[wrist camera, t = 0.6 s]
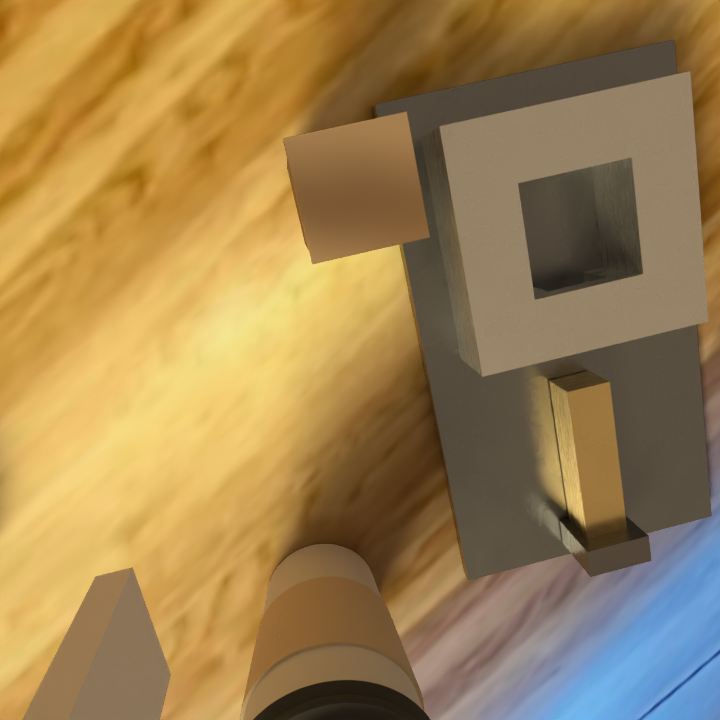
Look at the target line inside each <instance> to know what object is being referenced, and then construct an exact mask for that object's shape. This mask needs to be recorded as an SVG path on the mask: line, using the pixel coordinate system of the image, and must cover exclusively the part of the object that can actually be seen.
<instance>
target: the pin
mask: <svg viewBox="0 0 720 720" xmlns="http://www.w3.org/2000/svg"><path fill="white" fill-rule="evenodd" d="M549 384H550V391H551V398H552V405H553V412H554V419H555V426H556V433H557V439H558V446H559V453H560V460H561V467H562V474H563V481H564V488H565V495H566V502H567V509H568V516H569V518H568V519H564V520H560V527H561V534H562V541H563V544H564V545H565V547H566V548H567V549H568V550H569V551H570V553H571V554H572V555H573V556H574V557H575V559H576V560H577V561H578V562H579V563H580V565H581V566H582V567H583V568H584V569H585V571H586V572H587V573H588V574H589V575H590V577H592V576H596V575H599V574H603V573H607V572H611V571H614V570H618V569H622V568H626V567H629V566H633V565H637V564H641V563H644V562H648V561H651V553H650V544H649V536H648V535H647V534H646V533H645V532H644V531H643V530H641V529H640V528H639V527H638V526H637V525H636V524H635V523H634V522H633V521H631V520H630V519H629V518H628V517H627V516H626V515H625V507H624V499H623V490H622V482H621V473H620V465H619V456H618V448H617V439H616V431H615V422H614V414H613V405H612V397H611V388H610V382H609V381H607V380H606V379H604V378H602V377H600V376H598V375H596V374H594V373H592V372H590V371H585V372H581V373H577V374H573V375H569V376H565V377H561V378H557V379H553V380H549Z"/></svg>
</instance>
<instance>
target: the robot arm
mask: <svg viewBox="0 0 720 720" xmlns="http://www.w3.org/2000/svg"><path fill="white" fill-rule="evenodd" d="M170 676H171V674H170V671H169V668H168V666H167V663H166V660H165V657H164V654H163V652H162V649H161V646H160V643H159V640H158V638H157V635H156V632H155V629H154V626H153V624H152V621H151V618H150V615H149V612H148V610H147V607H146V604H145V601H144V598H143V596H142V593H141V590H140V587H139V584H138V582H137V579H136V576H135V573H134V571H133V568H128V569H124V570H120V571H116V572H112V573H108V574H104V575H100V576H96V577H95V579H94V581H93V583H92V585H91V587H90V588H89V590H88V592H87V594H86V596H85V598H84V600H83V602H82V604H81V606H80V608H79V610H78V612H77V614H76V616H75V618H74V620H73V622H72V624H71V626H70V628H69V630H68V631H67V633H66V635H65V637H64V639H63V641H62V643H61V645H60V647H59V649H58V651H57V653H56V655H55V657H54V659H53V661H52V663H51V665H50V667H49V669H48V671H47V673H46V674H45V676H44V678H43V680H42V682H41V684H40V686H39V688H38V690H37V692H36V694H35V696H34V698H33V700H32V702H31V704H30V706H29V708H28V710H27V712H26V714H25V716H24V718H23V719H22V720H160V717H161V712H162V708H163V704H164V700H165V696H166V692H167V688H168V684H169V680H170Z"/></svg>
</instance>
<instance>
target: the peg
mask: <svg viewBox="0 0 720 720" xmlns="http://www.w3.org/2000/svg"><path fill="white" fill-rule="evenodd" d="M283 142H284V146H285V150H286V155H287V169H288V173H289V177H290V182H291V186H292V190H293V194H294V199H295V203H296V207H297V211H298V215H299V220H300V224H301V228H302V232H303V237H304V241H305V244H306V246H307V248H308V250H309V252H310V256H311V261H312V264H316V263H320V262H324V261H329V260H333V259H337V258H342V257H346V256H351V255H355V254H359V253H364V252H368V251H372V250H377V249H381V248H385V247H390V246H394V245H398V244H403V243H407V242H411V241H416V240H420V239H424V238H429V237H430V235H429V230H428V224H427V219H426V214H425V208H424V203H423V197H422V192H421V186H420V181H419V176H418V170H417V165H416V159H415V154H414V149H413V143H412V138H411V132H410V127H409V122H408V116H407V112H402V113H398V114H393V115H389V116H384V117H379V118H375V119H370V120H366V121H361V122H356V123H352V124H347V125H343V126H338V127H333V128H329V129H324V130H320V131H315V132H310V133H306V134H301V135H297V136H292V137H287V138H283Z"/></svg>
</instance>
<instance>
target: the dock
mask: <svg viewBox="0 0 720 720" xmlns="http://www.w3.org/2000/svg"><path fill="white" fill-rule="evenodd" d="M372 109H373V114H374V119H375V118H379V117H384V116H389V115H393V114H398V113H402V112H407V116H408V122H409V127H410V132H411V138H412V143H413V149H414V154H415V159H416V165H417V170H418V176H419V181H420V186H421V192H422V197H423V203H424V208H425V214H426V219H427V224H428V230H429V235H430V237H429V238H424V239H420V240H416V241H411V242H407V243H403V244H399V245H400V250H401V256H402V261H403V266H404V271H405V276H406V281H407V286H408V291H409V296H410V301H411V306H412V311H413V316H414V321H415V326H416V331H417V336H418V341H419V346H420V352H421V357H422V362H423V367H424V372H425V377H426V382H427V387H428V392H429V397H430V402H431V407H432V412H433V417H434V422H435V427H436V432H437V437H438V442H439V448H440V453H441V458H442V463H443V468H444V473H445V478H446V483H447V488H448V493H449V498H450V503H451V508H452V513H453V518H454V523H455V528H456V533H457V539H458V544H459V549H460V554H461V559H462V564H463V569H464V572H465V574H466V576H467V578H468V580H472V579H476V578H479V577H483V576H487V575H491V574H495V573H498V572H502V571H506V570H510V569H513V568H517V567H521V566H525V565H529V564H532V563H536V562H540V561H544V560H547V559H551V558H555V557H559V556H563V555H566V554H570V551H569V550H568V549H567V548H566V547H565V545H564V544H563V541H562V534H561V527H560V520H564V519H568V518H569V516H568V509H567V502H566V495H565V488H564V481H563V474H562V467H561V460H560V453H559V446H558V439H557V433H556V426H555V419H554V412H553V405H552V398H551V391H550V384H549V380H553V379H557V378H561V377H565V376H569V375H573V374H577V373H581V372H585V371H590V372H592V373H594V374H596V375H598V376H600V377H602V378H604V379H606V380H607V381H609V382H610V388H611V397H612V405H613V414H614V422H615V431H616V439H617V448H618V456H619V465H620V473H621V482H622V490H623V499H624V507H625V515H626V516H627V517H628V518H629V519H630V520H631V521H633V522H634V523H635V524H636V525H637V526H638V527H639V528H640V529H641V530H643V531H644V532H645V533H650V532H653V531H657V530H661V529H665V528H668V527H672V526H676V525H680V524H684V523H687V522H691V521H695V520H699V519H702V518H706V517H710V516H712V515H711V502H710V489H709V476H708V464H707V451H706V438H705V425H704V412H703V399H702V386H701V373H700V360H699V347H698V335H697V324H700V323H704V322H708V307H707V294H706V280H705V266H704V252H703V238H702V224H701V211H700V197H699V183H698V169H697V155H696V142H695V128H694V114H693V100H692V86H691V72H690V71H689V72H684V73H680V74H677V63H676V51H675V40H670V41H665V42H661V43H656V44H652V45H647V46H642V47H638V48H633V49H628V50H624V51H619V52H615V53H610V54H605V55H601V56H596V57H591V58H587V59H582V60H578V61H573V62H568V63H564V64H559V65H554V66H550V67H545V68H541V69H536V70H531V71H527V72H522V73H517V74H513V75H508V76H504V77H499V78H494V79H490V80H485V81H480V82H476V83H471V84H467V85H462V86H457V87H453V88H448V89H443V90H439V91H434V92H430V93H425V94H420V95H416V96H411V97H406V98H402V99H397V100H393V101H388V102H383V103H379V104H375V105H374V106H373V107H372Z"/></svg>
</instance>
